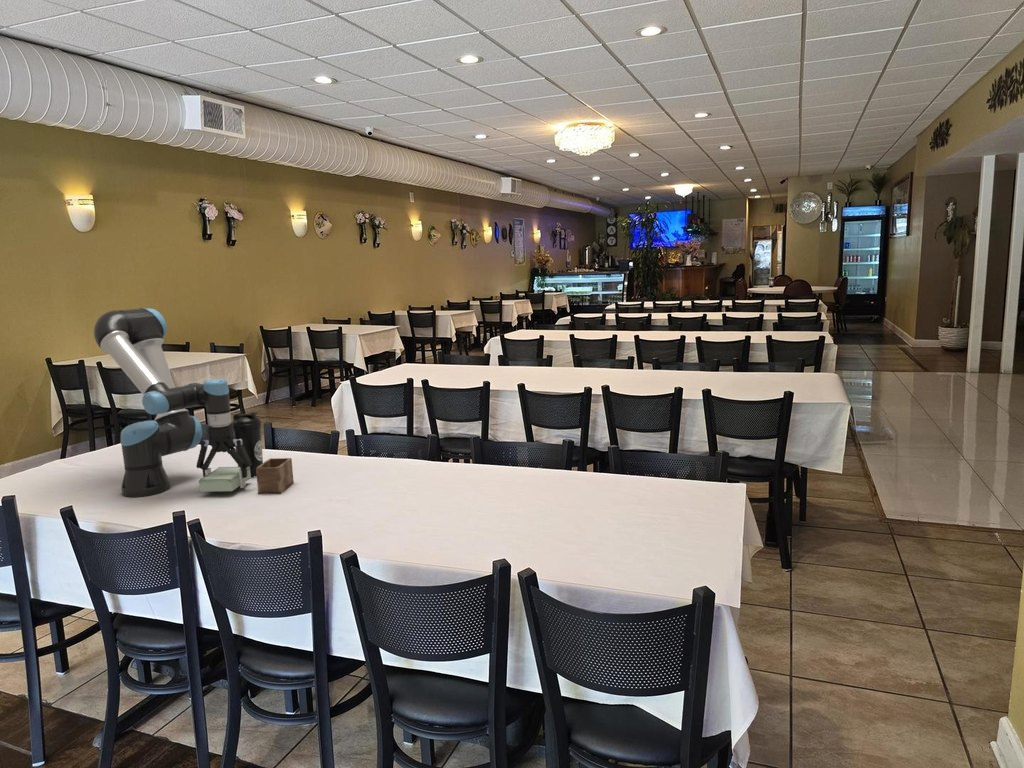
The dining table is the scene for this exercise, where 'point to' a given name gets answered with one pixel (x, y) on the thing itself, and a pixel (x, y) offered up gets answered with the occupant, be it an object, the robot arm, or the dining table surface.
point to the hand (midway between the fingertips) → (226, 487)
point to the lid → (222, 479)
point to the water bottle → (249, 437)
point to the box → (274, 476)
